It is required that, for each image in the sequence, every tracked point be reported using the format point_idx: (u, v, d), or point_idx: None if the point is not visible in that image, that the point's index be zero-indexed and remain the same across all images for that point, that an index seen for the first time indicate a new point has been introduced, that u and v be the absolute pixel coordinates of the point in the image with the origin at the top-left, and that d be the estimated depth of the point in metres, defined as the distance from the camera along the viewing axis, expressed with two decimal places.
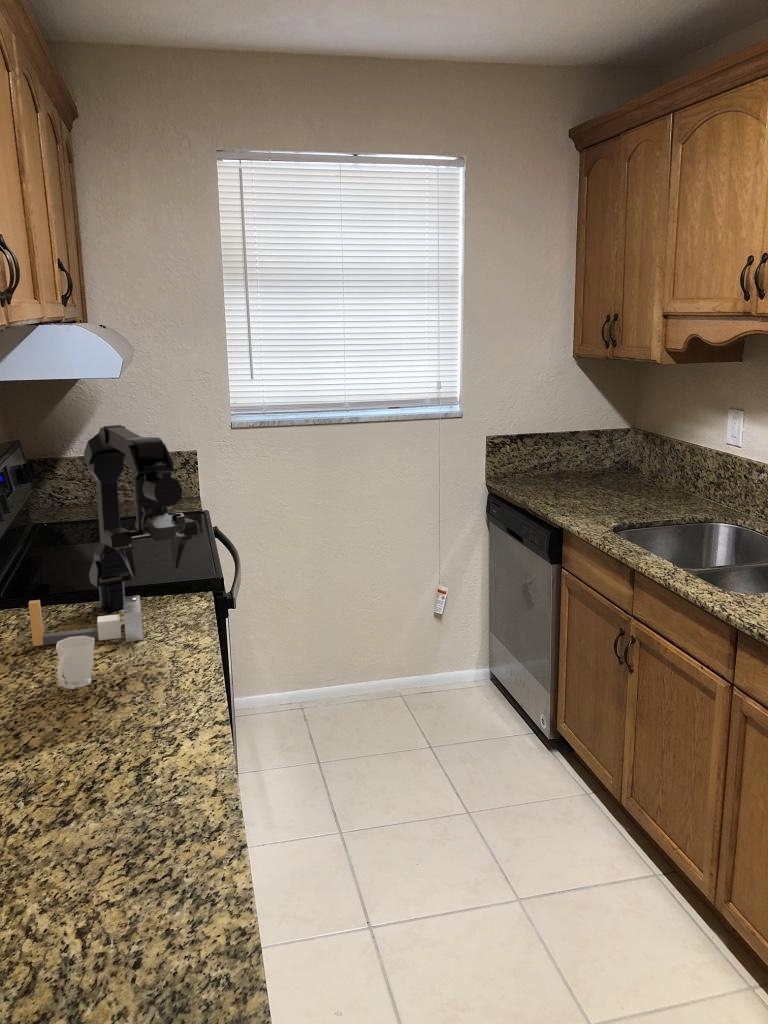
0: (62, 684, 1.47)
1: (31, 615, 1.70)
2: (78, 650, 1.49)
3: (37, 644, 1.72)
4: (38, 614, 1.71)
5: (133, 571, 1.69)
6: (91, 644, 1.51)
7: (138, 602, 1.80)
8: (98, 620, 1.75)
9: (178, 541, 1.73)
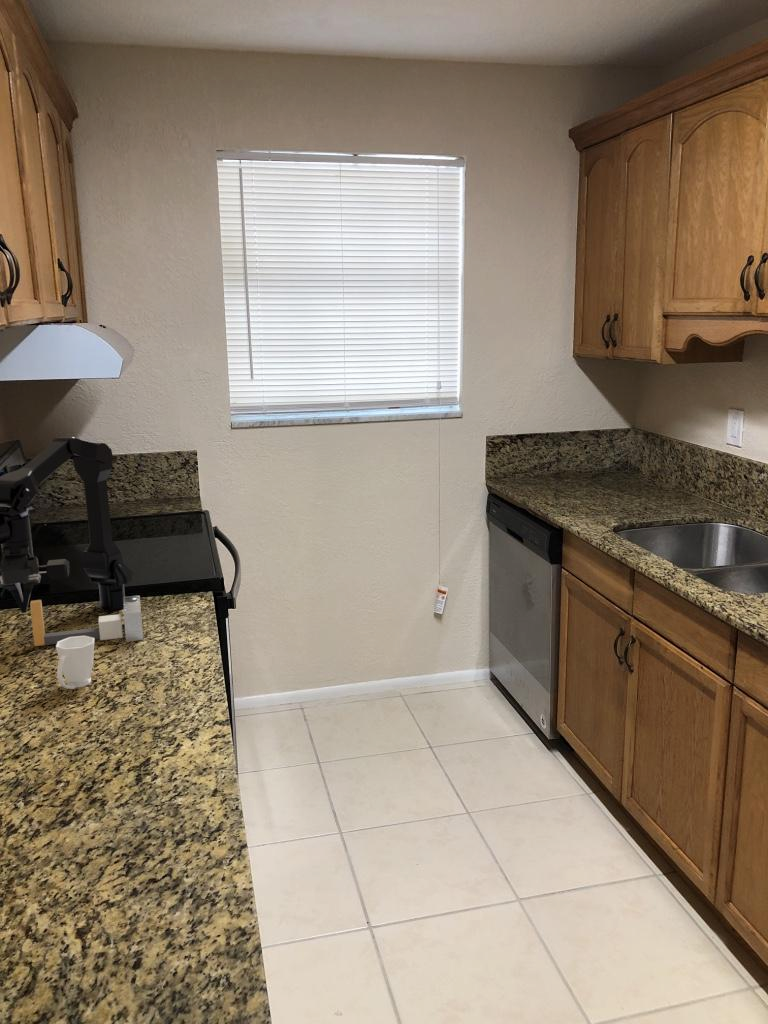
0: (62, 684, 1.47)
1: (32, 615, 1.70)
2: (78, 650, 1.49)
3: (38, 644, 1.72)
4: (39, 614, 1.71)
5: (21, 607, 1.70)
6: (91, 644, 1.51)
7: (138, 602, 1.80)
8: (99, 620, 1.75)
9: None
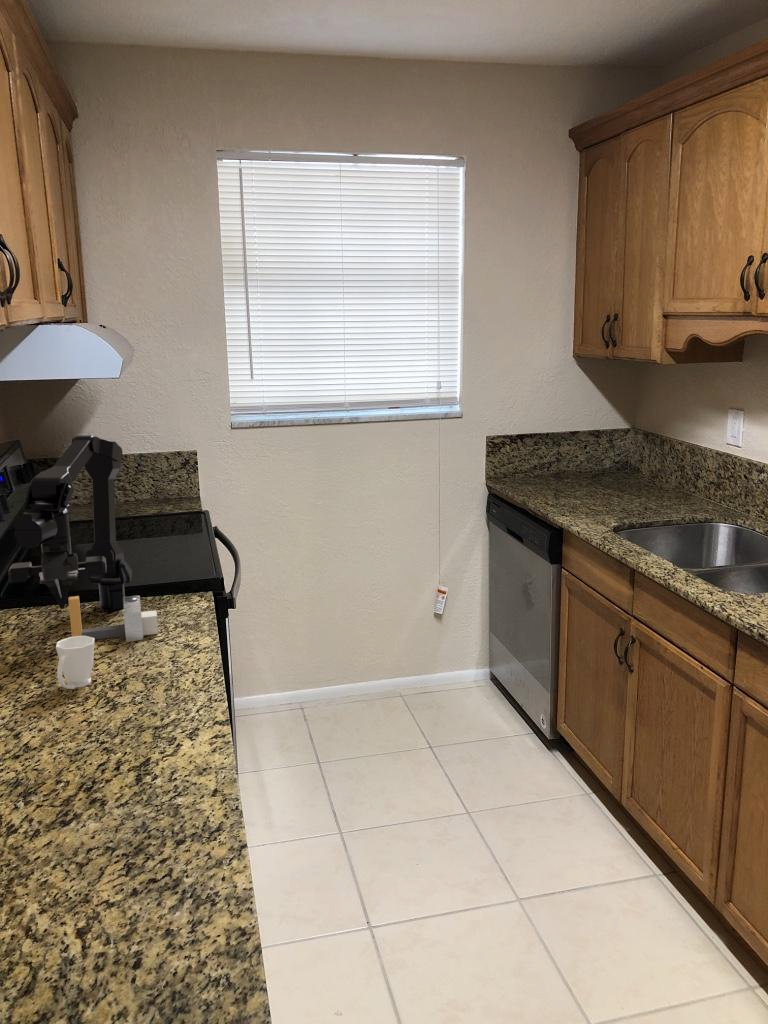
0: (62, 684, 1.47)
1: (70, 611, 1.72)
2: (78, 650, 1.49)
3: None
4: (77, 610, 1.73)
5: (59, 603, 1.72)
6: (91, 644, 1.51)
7: (138, 602, 1.80)
8: None
9: None
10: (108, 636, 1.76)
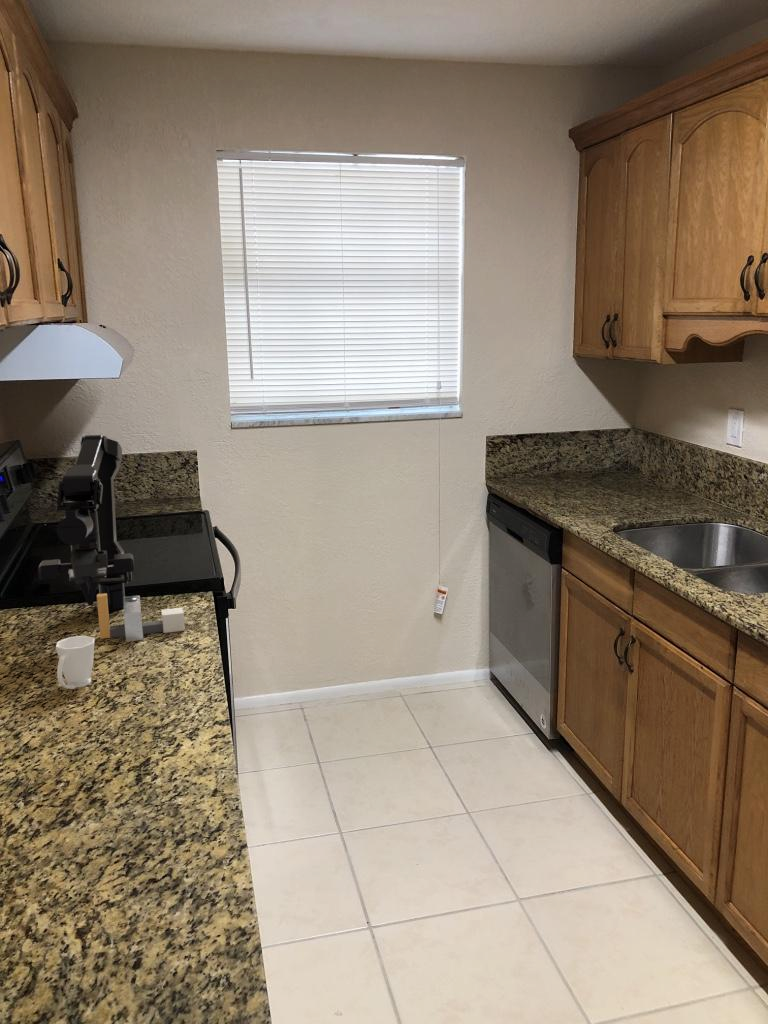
0: (62, 684, 1.47)
1: (99, 608, 1.74)
2: (78, 650, 1.49)
3: (104, 636, 1.76)
4: (106, 607, 1.75)
5: (88, 600, 1.73)
6: (91, 644, 1.51)
7: (138, 602, 1.80)
8: (163, 613, 1.79)
9: (91, 579, 1.72)
10: None
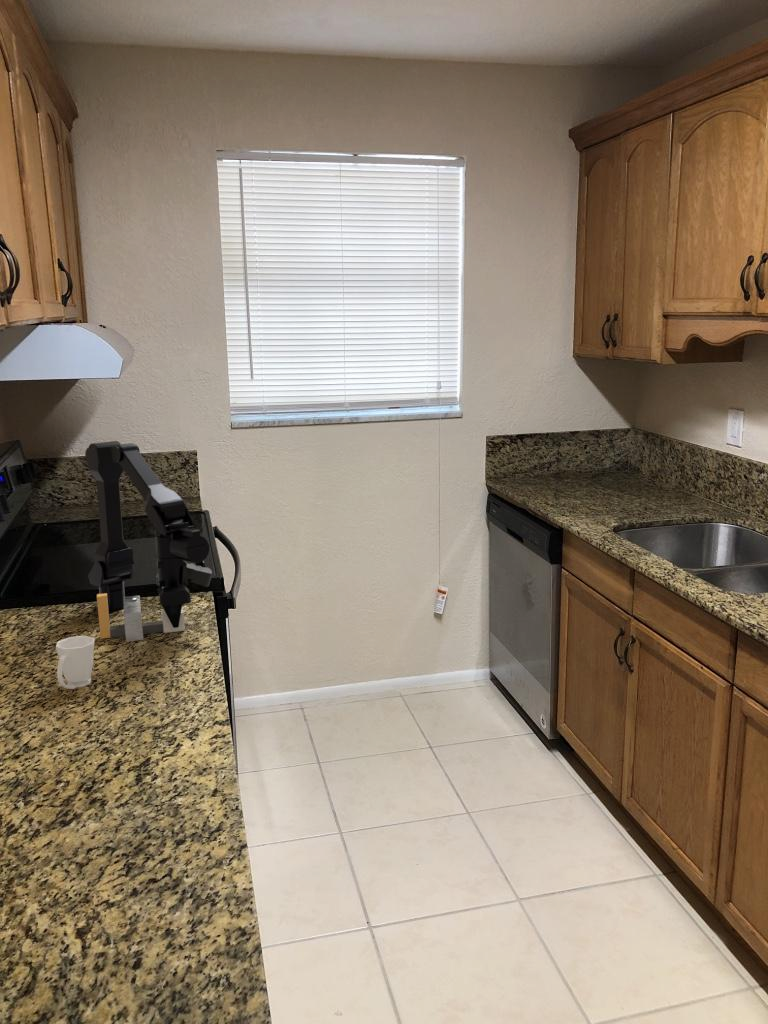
0: (62, 684, 1.47)
1: (99, 608, 1.74)
2: (78, 650, 1.49)
3: (104, 636, 1.76)
4: (106, 607, 1.75)
5: None
6: (91, 644, 1.51)
7: (138, 602, 1.80)
8: (163, 613, 1.79)
9: None
10: None
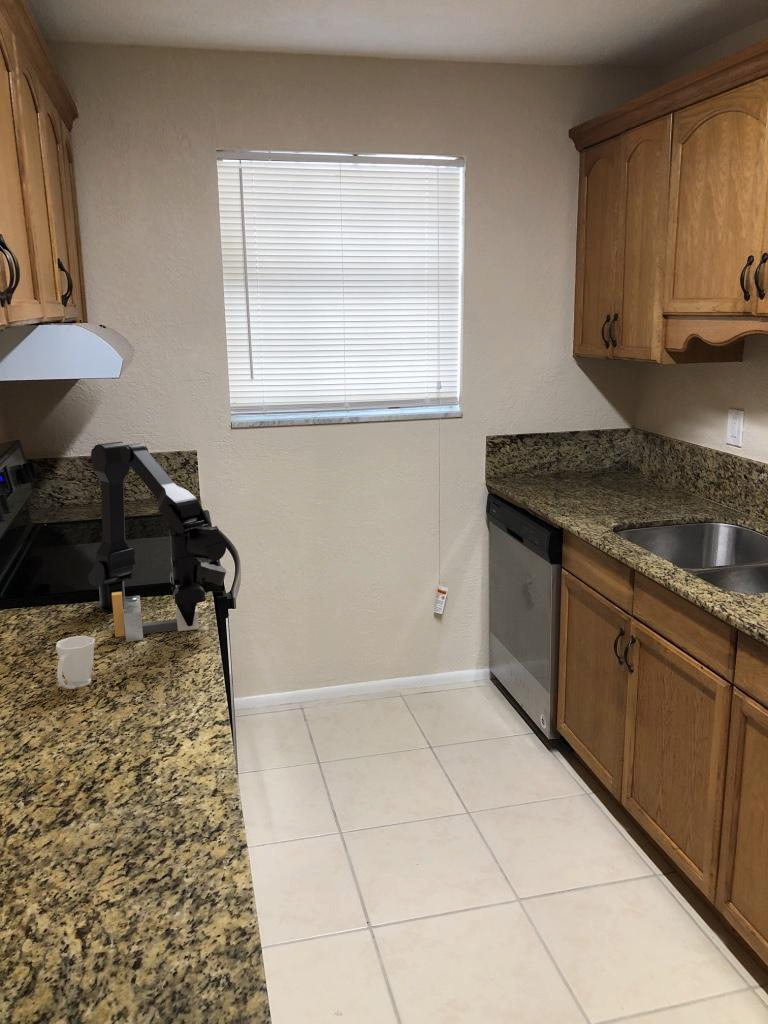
0: (62, 684, 1.47)
1: (114, 607, 1.75)
2: (78, 650, 1.49)
3: (119, 635, 1.76)
4: (120, 605, 1.75)
5: None
6: (91, 644, 1.51)
7: (138, 602, 1.80)
8: (177, 611, 1.80)
9: None
10: (150, 631, 1.78)
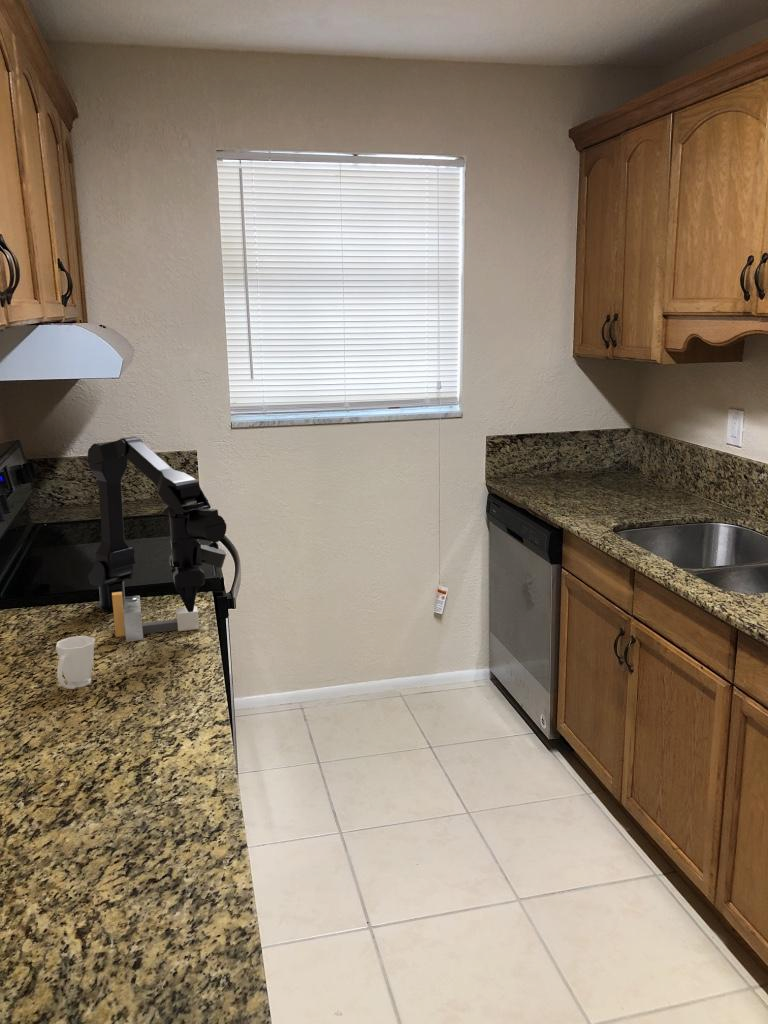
0: (62, 684, 1.47)
1: (114, 607, 1.75)
2: (78, 650, 1.49)
3: (119, 635, 1.76)
4: (121, 605, 1.75)
5: None
6: (91, 644, 1.51)
7: (138, 602, 1.80)
8: (177, 611, 1.80)
9: None
10: (150, 631, 1.78)
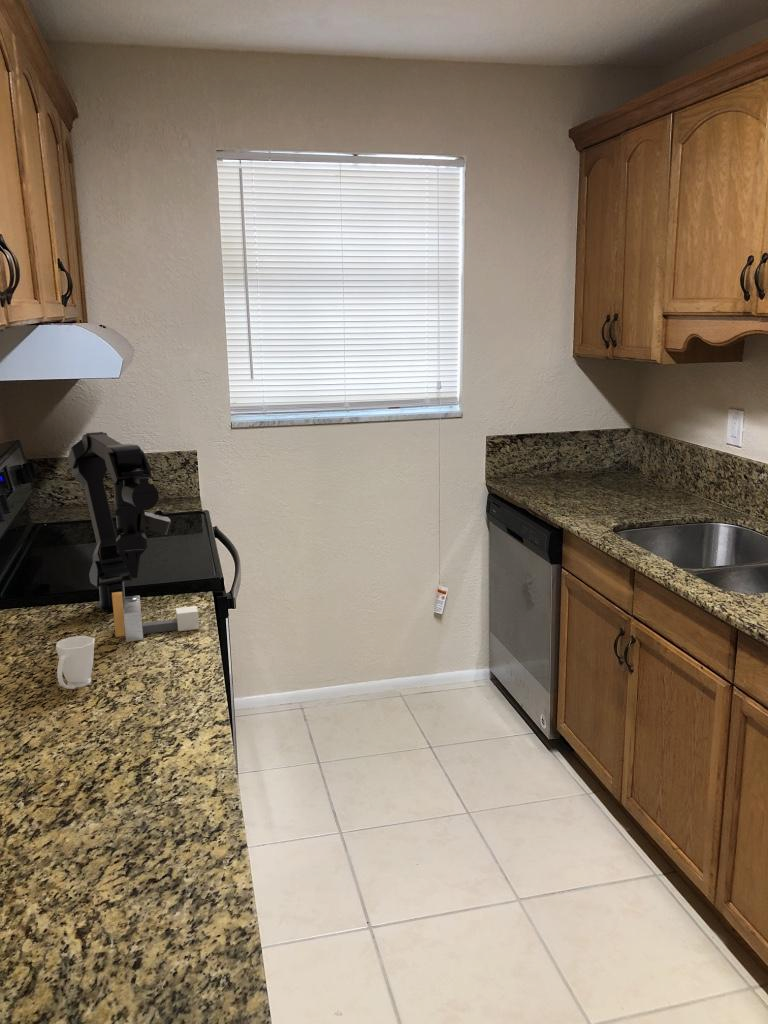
0: (62, 684, 1.47)
1: (114, 607, 1.75)
2: (78, 650, 1.49)
3: (119, 635, 1.76)
4: (121, 605, 1.75)
5: (137, 572, 1.78)
6: (91, 644, 1.51)
7: (138, 602, 1.80)
8: (177, 611, 1.80)
9: None
10: (150, 631, 1.78)
